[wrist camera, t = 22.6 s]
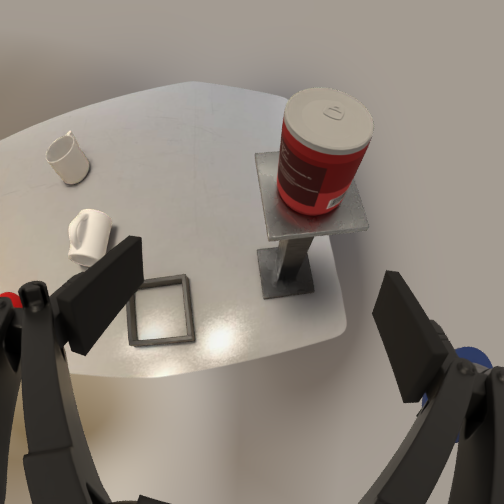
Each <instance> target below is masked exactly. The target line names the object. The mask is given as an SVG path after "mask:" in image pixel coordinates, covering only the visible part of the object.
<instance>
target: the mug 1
mask: <svg viewBox="0 0 504 504" xmlns="http://www.w3.org/2000/svg"><path fill="white" fill-rule="evenodd" d="M46 160H47V162H48V163H49V164H50V165H51V167H52V168H53V169H54V170H55V171H56V173H57V174H58V175H59V176H60V178H61V179H62V180H63V181H64V182H65V183H67V184H75V183H78V182H80V181H81V180H82V179H84V177H85V176H86V175H87V173H88V170H89V161H88V160H87V158H86V156H85V155H84V153H83V152H82V150H81V149H80V147H79V144H78V142H77V140H76V138H75V137H74V135H73V133H72V131H69V132H67V134H66V136H62V137H60V138H58V139H57V140H56V141H54V142H53V143H52V144H51V146H50V147H49V148H48V150H47V153H46Z"/></svg>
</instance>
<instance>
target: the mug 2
mask: <svg viewBox="0 0 504 504" xmlns="http://www.w3.org/2000/svg"><path fill="white" fill-rule="evenodd" d="M111 226H112V219H111V218H110V217H109V216H108V215H107V214H105V213H103V212H101V211H98V210H93V209H85V210H82V211H80V212H79V214H78V216H77V217H75V218H74V219H73V220H72V222H71V223H70V225H69V230H68V233H69V239H70V241H71V245H70V249H69V253H68V258H69V259H70V260H71V261H73V262H75V263H77V264H80V265H83V266H87V267H91V266H92V265H94V264H95V263H96V262H97V261H98V260H100V259H101V258H102V257H103V256H104V255H105V254H106V249H107V244H108V239H109V234H110V230H111Z"/></svg>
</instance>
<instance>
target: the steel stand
mask: <svg viewBox="0 0 504 504" xmlns="http://www.w3.org/2000/svg"><path fill="white" fill-rule="evenodd" d="M279 154H280V151H279V152H266V153H255V163H256V169H257V175H258V181H259V187H260V193H261V199H262V205H263V211H264V217H265V224H266V230H267V236H268V241H278V240H280V241H279V246H278V247H276V248H268V249H259V250H257V255H258V262H259V270H260V277H261V284H262V292H263V299H269V298H277V297H284V296H292V295H299V294H306V293H313V292H314V291H315V290H314V285H313V280H312V274H311V269H310V264H309V259H308V254H307V252H308V250H309V247H310V245H311V243H312V241H313V238H314V236H323V235H331V234H341V233H350V232H360V231H367V229H368V228H369V224H368V221H367V217H366V214H365V211H364V208H363V205H362V202H361V198H360V195H359V192H358V189H357V187H356V184H355V181H354V178H353V180H352V182H351V184H350V186H349V188H348V190H347V192H346V194H345V196H344V198H343V200H342V202H341V203H340V204H339V205H338V206H337V207H336V208H334V209H333V210H331V211H330V212H328V213H325V214H323V215H318V216H310V215H304V214H301V213H298V212H296V211H295V210H293V209H291V208H290V207H289V206H288V205H287V204H286V203H285V202H284V201H283V199H282V197H281V195H280V193H279V191H278V187H277V173H278V163H279Z"/></svg>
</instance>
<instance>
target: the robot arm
mask: <svg viewBox="0 0 504 504" xmlns="http://www.w3.org/2000/svg"><path fill="white" fill-rule="evenodd" d="M143 282H144V275H143V259H142V238H141V237H136V236H128V237H127V238H126V239H124V240H123V241H122V242H120V243H119V244H118V245H117V246H115V247H114V248H113V249H112V250H110V251H109V252H108V253H107V254H106V255H104V256H103V257H102V258H101V259H100V260H98V261H97V262H96V263H95V264H94V265H92V266H91V267H90V268H89V269H88V270H86V271H85V272H81V273H79V274H76V275H74V276H73V277H72V278H70V279H69V280H68V281H67V282H66V283H64V284H63V285H62V287H60V288H59V289H58V290H56V291H55V292H54V293H53V294H52V295H51V296H50V297H49V295H48V290H47V286H46V284H45V283H44V282H42V281H32V282H28V283H26V284H24V285H23V286H21V287H20V288H19V291H18V293H19V297H20V300H21V303H22V307H23V308H17V307H13V304H12V301H11V299H10V298H9V297H0V504H4V501H5V495H6V483H7V482H6V481H7V466H8V453H9V444H10V436H11V430H12V423H13V417H14V411H15V405H16V401H17V396H18V391H19V386H20V382H21V380H22V398H23V410H24V420H25V428H26V435H27V443H28V449H29V452H28V454H26V455H24V457H23V465H24V470H25V475H26V480H27V484H28V489H29V493H30V497H31V501H32V504H170V503H166V502H162V501H158V500H155V499H152V498H149V497H146V496H142V495H139V498H138V501H119V502H118V501H117V502H111V499H110V498H109V496H108V494H107V492H106V491H105V489H104V488H103V485H102V483H101V481H100V478H99V476H98V473H97V470H96V468H95V465H94V462H93V459H92V456H91V453H90V451H89V447H88V445H87V441H86V438H85V435H84V431H83V428H82V425H81V421H80V417H79V414H78V410H77V405H76V402H75V397H74V393H73V388H72V384H71V379H70V374H69V369H68V363H67V357H66V352H65V349H64V345H65V344H66V343H67V342H69V345H70V348H71V351H73V352H75V353H78V354H81V355H84V356H86V355H87V353H88V352H89V351H90V349H91V348H92V347H93V345H94V344H95V343H96V341H97V340H98V339H99V338H100V336H101V335H102V334H103V332H104V331H105V330H106V328H107V327H108V326H109V325H110V323H111V322H112V321H113V320H114V318H115V317H116V316H117V314H118V313H119V312H120V311H121V309H122V308H123V307H124V306H125V304H126V303H127V302H128V301H129V299H130V298H131V297H132V296H133V295H134V293H135V292H136V291H137V290H138V288H139V287H140V286H141V285H142V284H143ZM372 315H373V317H374V320H375V322H376V325H377V328H378V330H379V333H380V336H381V338H382V341H383V344H384V346H385V349H386V352H387V355H388V357H389V361H390V363H391V366H392V369H393V372H394V375H395V378H396V381H397V384H398V387H399V390H400V393H401V397H402V400H403V403H414V402H415V403H416V402H419V401H420V399H421V398H422V397H423V395H424V394H425V393H426V395H427V398H428V400H427V401H426V403H425V404H424V406H423V407H422V409H421V410H420V411H419V413H418V414H417V419H416V421H415V422H414V424H413V426H412V427H411V429H410V431H409V432H408V434H407V436H406V437H405V439H404V440H403V442H402V444H401V445H400V447H399V449H398V450H397V451H396V453H395V454H394V456H393V457H392V459H391V460H390V462H389V463H388V465H387V466H386V468H385V469H384V470H383V472H382V473H381V475H380V476H379V477H378V479H377V480H376V481H375V483H374V484H373V485H372V486H371V488H370V489H369V490H368V492H367V493H366V494H365V495H364V497H363V498H362V499H361V500H360V502H359V503H358V504H425V503H426V502H427V500H428V498H429V496H430V495H431V493H432V491H433V489H434V487H435V485H436V483H437V481H438V479H439V477H440V475H441V473H442V471H443V469H444V467H445V464H446V462H447V460H448V458H449V456H450V453H451V451H452V449H453V446H454V444H455V441H456V439H457V436H458V434H459V443H458V452H457V458H456V465H455V471H454V477H453V483H452V487H451V492H450V497H449V501H448V504H504V367H499V366H496V367H494V368H491V369H489V368H487V367H484V366H482V365H480V364H477V363H472V362H470V361H469V360H467V359H465V358H459V356H458V355H457V353H456V351H455V349H454V348H453V346H452V344H451V343H450V341H448V338H447V336H446V335H445V333H444V331H443V330H442V328H441V327H440V326H439V325H438V324H437V323H436V322H435V321H434V320H429V318H428V317H427V315H426V313H425V312H424V310H423V309H422V307H421V305H420V304H419V302H418V301H417V299H416V298H415V296H414V294H413V293H412V291H411V290H410V288H409V287H408V285H407V284H406V282H405V281H404V279H403V278H402V276H401V275H400V273H399V272H395V271H387V270H386V273H385V276H384V279H383V282H382V285H381V289H380V292H379V295H378V298H377V301H376V304H375V306H374V309H373V312H372ZM459 431H460V433H459Z"/></svg>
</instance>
